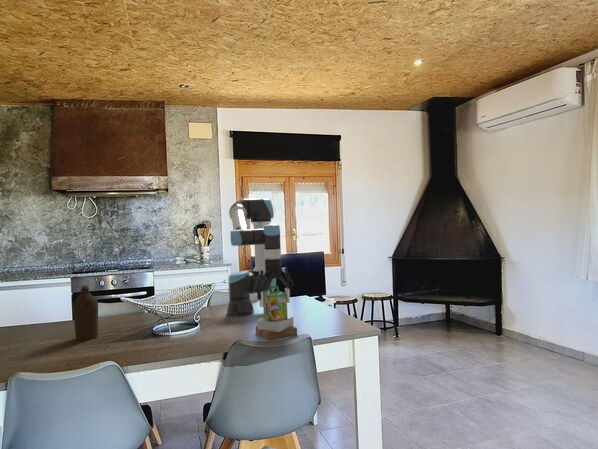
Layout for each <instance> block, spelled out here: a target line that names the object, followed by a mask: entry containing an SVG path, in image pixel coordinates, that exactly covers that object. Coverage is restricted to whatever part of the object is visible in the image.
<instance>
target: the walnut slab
mask: <svg viewBox="0 0 598 449" xmlns="http://www.w3.org/2000/svg"><path fill="white" fill-rule="evenodd" d="M255 334H256V335H258V336H260V337H262V338H263V339H266V340H267V341H269V342H271V341H270V340H272V341H276V340H279V339H284V338H289V337H293V336H297V335H298V327H297V326H295V325H293V326H291V327H289V328H287V329H285V330H282V331H280V332H275V331H268V330H261V329H257V325H256V326H255Z"/></svg>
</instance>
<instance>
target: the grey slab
mask: <svg viewBox="0 0 598 449" xmlns="http://www.w3.org/2000/svg"><path fill="white" fill-rule="evenodd" d="M287 317H288V319H285V320H276V321H268V320H267V319H266V318H264V317H262V318H258V319H257V320H256V326H257V329H261V330H268V331H275V332H280V331H282V330H285V329H287V328H289V327H291V326H295V325H294V316H293V315H287Z"/></svg>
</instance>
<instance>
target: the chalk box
mask: <svg viewBox="0 0 598 449" xmlns="http://www.w3.org/2000/svg"><path fill="white" fill-rule="evenodd" d="M273 288H275V289H276V290H274V291H272V289H273ZM262 308H263V318H266V319H267V320H268V321H276V320H285V319H288V317H287V316H288V303H287V294H285V292H283V291H280V288H279V285H277V284H276V286H270V287H269V292H267V293H263V307H262Z"/></svg>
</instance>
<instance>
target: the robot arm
mask: <svg viewBox="0 0 598 449" xmlns="http://www.w3.org/2000/svg"><path fill="white" fill-rule="evenodd" d="M228 215H229V218H230V220H231V222H232V223H231V224H232V228H233V229H232V230H231V231H230V233H229V234H230V245H231V246H233V247H235V246H236V247H237V246H238V247H242V246H254V268H253V269H252V272H250V271H249V270H241V271H236V272H233V273H231V274H229V276H228V296H229V297H228V298H229V302H228V304H227V309H226V315H227V316H229V317H242V316H248V315H251V314H254V312H255V310H254V309H255V308H254V305H253V303H252V300H251V294H252V295H253V294H256V298H257V300H258V304H259V307H261V308H263V293H267V292H269V287H270V286H277V279H279V280H280V281H281V283H282V284H283V286H285V288H284V293H285V294H287V304H288V303H291V301H290V300H291V299H290V296H291V295H292V288H293V287H295V283H294V281H293V279H292V277H291V275H290V272H289V270H288V267H285V266H284V267H283V266H282V259H281V257H282V250H281V249H282V247H281V229H280V228H281V227H280V225H279V224H271V223H272V219H274V215H275V214H274V208H273V203H272V200H271V199H270V198H267V197H260V198H242V199H239V200H237V201H234V203H232V205H231V206H230V208H229V210H228ZM248 220H250V223H251V224H252V225H253V228H251V229H250V227H249V224H248ZM282 273H283V274H284V275H282ZM285 278H286V279H285ZM275 289H276V288H273V289H272V291H275Z"/></svg>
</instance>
